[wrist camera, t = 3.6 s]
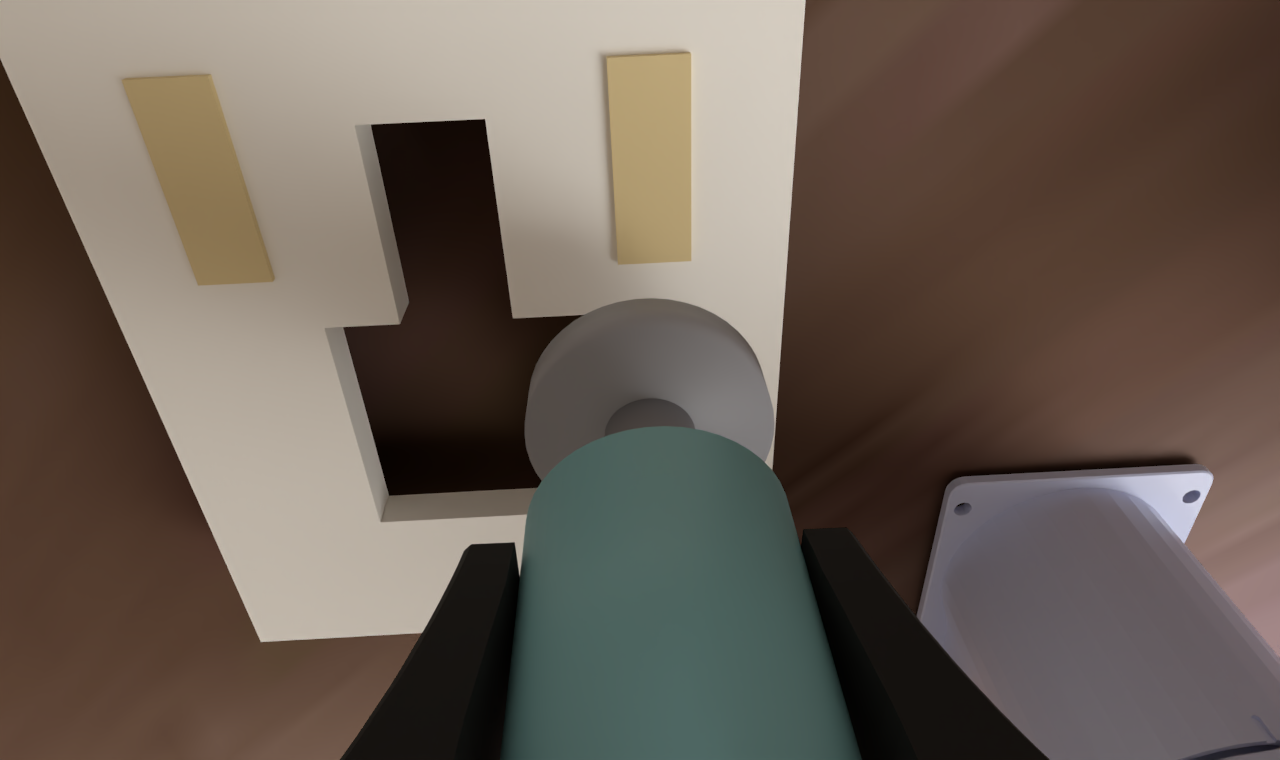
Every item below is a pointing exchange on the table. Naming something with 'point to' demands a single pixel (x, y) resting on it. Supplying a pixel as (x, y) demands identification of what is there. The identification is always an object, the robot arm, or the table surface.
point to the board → (390, 231)
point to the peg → (663, 557)
